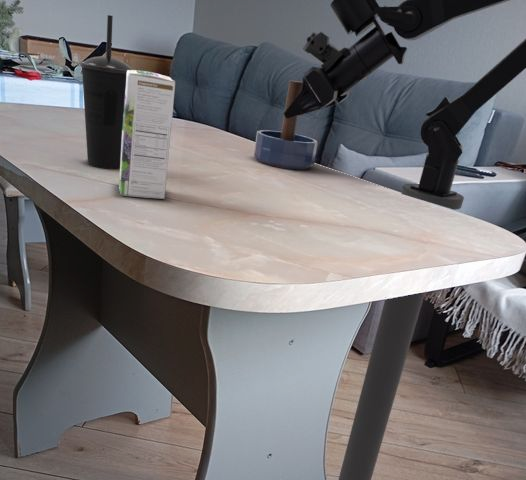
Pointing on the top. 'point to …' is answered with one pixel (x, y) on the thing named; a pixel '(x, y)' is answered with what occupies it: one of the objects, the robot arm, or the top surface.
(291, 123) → the rod
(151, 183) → the syrup box
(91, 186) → the top surface
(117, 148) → the drinking cup
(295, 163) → the bowl
